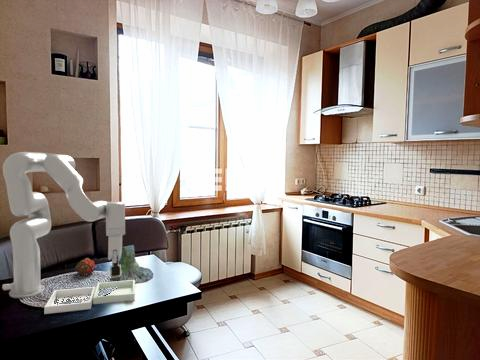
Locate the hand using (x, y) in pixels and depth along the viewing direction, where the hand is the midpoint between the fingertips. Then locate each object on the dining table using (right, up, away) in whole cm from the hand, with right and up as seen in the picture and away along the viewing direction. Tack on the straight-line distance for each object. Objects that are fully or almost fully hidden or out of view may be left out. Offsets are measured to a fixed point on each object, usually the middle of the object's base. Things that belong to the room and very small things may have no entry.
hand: (116, 273), depth 135 cm
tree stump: (-1, -8, +22) cm, 24 cm away
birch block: (0, -1, 0) cm, 1 cm away
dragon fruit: (-25, -8, +24) cm, 36 cm away
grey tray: (-15, -10, -8) cm, 19 cm away
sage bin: (-1, -10, +1) cm, 10 cm away
